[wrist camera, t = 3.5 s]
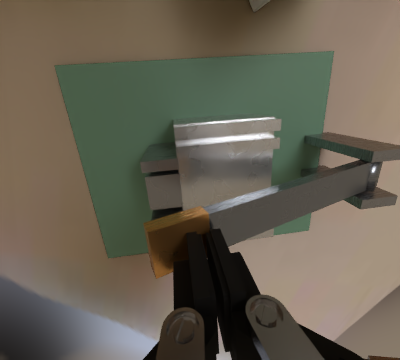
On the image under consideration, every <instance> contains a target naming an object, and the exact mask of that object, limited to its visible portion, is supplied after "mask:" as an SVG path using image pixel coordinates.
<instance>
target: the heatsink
mask: <svg viewBox="0 0 400 360" xmlns="http://www.w3.org/2000/svg"><path fill="white" fill-rule="evenodd" d="M281 120H282V119H279V118H275V116H267V115H259V114H251V113H245V114H233V115H220V116H207V117H195V118H182V119H173V124H174V134H175V142H171V143H160V144H150V145H149V146H148V148H147V150H146V152H145V154H144V156H143V158H142V159H141V161H140V165H141V170H142V173H146V175H145V182H146V188H147V193H148V199H149V205H150V210H153V212H152V217H151V220H155V219H158V218H161V217H165V216H168V215H171V214H175V213H178V212H182V211H185V210H188V209H192V208H195V207H198V206H201V207H202V208H203V207H206V206H209V205H212V204H216V203H219V202H222V201H226V200H229V199H232V198H236V197H239V196H242V195H246V194H249V193H252V192H255V191H259V190H262V189H265V188H269V187H271V176H272V159H273V149H280V137H277V136H274V131H281ZM304 143H307V144H310V145H314V146H317V147H320V148H324V149H327V150H330V151H334V152H337V153H341V154H344V155H347V156H351V157H354V158H358V159H361V160H364V161H368V162H371V163H373V162H382V161H391V160H400V145H395V144H389V143H384V142H378V141H373V140H367V139H362V138H356V137H351V136H346V135H340V134H335V133H329V132H327V133H322V134H313V135H305V140H304ZM328 169H331V168H328V167H326V166H324V165H323V166H318V167H316V168H307V169H301V175H300V176H302V177H305V176H308V175H312V174H315V173H318V172H322V171H325V170H328ZM343 200H345V201H346V202H348V203H350V204H352V205H354V206H355V207H357V208H359V209H367V208H375V207H382V206H390V205H395V203H396V200H397V195H395V194H392V193H390V192H387V191H385V190H382V189H380V188H378V187H375V191H372V192H366V191H363V192H360V193H358V194H356V195H353V196H351V197H348V198H346V199H343ZM273 234H274V228H273V229H270V230H268V231H265V232H263V233H260V234H258V235H256V236H253V237H251V238H248V239H246V240H251V239H258V238H266V237H273ZM243 241H244V240H243Z"/></svg>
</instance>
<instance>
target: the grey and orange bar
mask: <svg viewBox="0 0 400 360" xmlns="http://www.w3.org/2000/svg"><path fill="white" fill-rule="evenodd" d="M382 162H383V161H382ZM382 162H373V163H371V162H368V161H364V160H361V159H360V160H358V161H355V162H351V163H348V164H345V165H342V166H338V167H335V168H332V169H328V170H325V171H322V172H318V173H315V174H312V175H308V176H305V177H302V178H299V179H295V180H292V181H289V182H285V183H282V184H279V185H275V186H272V187H269V188H265V189H262V190H259V191H255V192H252V193H249V194H246V195H242V196H239V197H236V198H232V199H229V200H226V201H222V202H219V203H216V204H212V205H209V206H206V207H203V208H202V207H201V206H198V207H195V208H192V209H188V210H185V211H182V212H178V213H175V214H171V215H168V216H165V217H161V218H158V219H155V220H151V221H148V222H145V223H143V225H144V230H145V235H146V241H147V246H148V251H149V256H150V262H151V267H152V269H153V272H154V274H155V277H156V279H157V278H159V277H162V276H164V275H167V274H169V273H171V272H173V262H174V261H180V260H187V259H189V257H188V247H187V237H186V233H189V232H195V231H196V232H197V234H201V236H202V240H203V244H204V248H205V253H206V257H207V247H206V233H209V230H210V229H218V228H220V229H221V232H222V234H223V236H224V239H225V241H226V244H227V246H228V247H229V246H231V245H234V244H236V243H239V242H241V241H243V240H246V239H248V238H251V237H253V236H256V235H258V234H260V233H263V232H265V231H268V230H270V229H273V228H275V227H278V226H280V225H282V224H285V223H287V222H290V221H292V220H295V219H297V218H299V217H302V216H304V215H307V214H309V213H312V212H314V211H317V210H319V209H321V208H324V207H326V206H329V205H331V204H334V203H336V202H339V201H341V200H343V199H346V198H348V197H351V196H353V195H356V194H358V193H360V192H363V191H366V192H372V191H375V187H376V186H377V182H378V178H379V174H380V170H381V166H382Z"/></svg>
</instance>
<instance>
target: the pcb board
mask: <svg viewBox="0 0 400 360" xmlns="http://www.w3.org/2000/svg"><path fill="white" fill-rule="evenodd" d="M333 55H334V51H327V52H308V53H288V54H269V55H249V56H230V57H210V58H191V59H171V60H152V61H133V62H113V63H94V64H74V65H55V69H56V73H57V77H58V80H59V84H60V87H61V91H62V94H63V98H64V102H65V105H66V109H67V112H68V116H69V119H70V123H71V127H72V130H73V134H74V137H75V141H76V144H77V148H78V152H79V155H80V159H81V162H82V166H83V169H84V173H85V177H86V180H87V184H88V187H89V191H90V194H91V198H92V202H93V205H94V209H95V212H96V216H97V219H98V223H99V227H100V230H101V234H102V237H103V241H104V244H105V248H106V252H107V255H108V258H114V257H121V256H128V255H135V254H143V253H149V251H148V246H147V241H146V235H145V230H144V225H143V223H145V222H148V221H151V217H152V212H153V210H150V205H149V199H148V193H147V188H146V182H145V175H146V173H142V170H141V165H140V161H141V159H142V158H143V156H144V154H145V152H146V150H147V148H148V146H149V145H150V144H160V143H171V142H175V134H174V124H173V119H182V118H195V117H207V116H220V115H233V114H245V113H251V114H259V115H267V116H275V118H279V119H282V120H281V131H274V136H277V137H280V149H273V159H272V176H271V187H272V186H275V185H279V184H282V183H285V182H289V181H292V180H295V179H299V178H302V176H300V175H301V169H307V168H316V167H318V162H319V155H320V147H317V146H314V145H310V144H307V143H304V140H305V135H313V134H322V133H323V126H324V119H325V112H326V105H327V98H328V91H329V84H330V77H331V69H332V62H333ZM310 218H311V213H309V214H307V215H304V216H302V217H299V218H297V219H295V220H292V221H290V222H287V223H285V224H282V225H280V226H278V227H275V228H274V234H273V235H279V234H286V233H293V232H301V231H308V230H309V226H310Z"/></svg>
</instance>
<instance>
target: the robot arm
mask: <svg viewBox="0 0 400 360" xmlns="http://www.w3.org/2000/svg"><path fill="white" fill-rule="evenodd" d="M186 237H187V247H188V257H189V259H187V260H180V261H174V262H173V280H174V311H172V312H171V313H170V314H169V315H168V316H167V317H166V319H165V320H164V322H163V325H162V329H161V334H160V340H159V342H158V343H157V344H156V345H155V346H154V347H153V349H152V350H151V351H150V352H149V354H147V356H146V357H145V358H144V359H143V360H216V354H219V344H218V325H217V318H218V323H219V327H220V332H221V336H222V340H223V345H224V349H225V352H229V351H230V354H231V358H232V360H400V358H391V357H380V356H368V359H363V358H361V357H360V356H358V355H357V354H355V353H354V352H352V351H350V350H348V349H346V348H344V347H342V346H340V345H338V344H337V343H335V342H333V341H331V340H329V339H327V338H325V337H323V336H321V335H319V334H317V333H315V332H313V331H312V330H310V329H308V328H306V327H304V326H302V325H300V324H298V323H297V322H296V321H295V320H294V319H293V317H292V316H291V315H290V313H289V312H288V311H287V309H286V308H285V307H284V305H283V304H282V303H281V302H280V301H278V300H277V299H275V298H274V297H271V296H268V295H261V294H260V292H259V290H258V288H257V286H256V284H255V282H254V280H253V277H252V275H251V273H250V271H249V269H248V267H247V265H246V263H245V261H244V259H243V257H242V255H241V253H240V252H236V253H230V251H229V248H228V246H227V244H226V241H225V239H224V236H223V234H222V232H221V229H220V228H218V229H210V230H209V233H206V247H207V257H206V253H205V248H204V244H203V240H202V236H201V234H197V232H196V231H195V232H189V233H186Z"/></svg>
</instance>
